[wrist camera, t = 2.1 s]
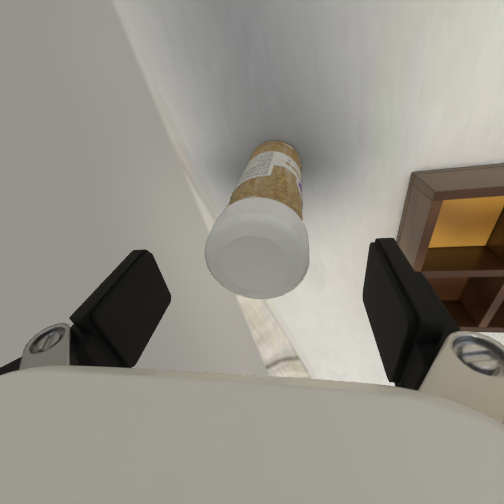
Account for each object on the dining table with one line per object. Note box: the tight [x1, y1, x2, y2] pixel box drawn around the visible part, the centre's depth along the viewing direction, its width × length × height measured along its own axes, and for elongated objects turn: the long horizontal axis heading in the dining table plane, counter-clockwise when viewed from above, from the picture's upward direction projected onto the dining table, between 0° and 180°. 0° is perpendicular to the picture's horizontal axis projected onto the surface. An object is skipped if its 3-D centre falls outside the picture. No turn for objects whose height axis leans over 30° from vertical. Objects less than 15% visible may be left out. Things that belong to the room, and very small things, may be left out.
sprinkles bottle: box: [205, 141, 309, 299], centre depth 16 cm, size 5×5×13 cm
